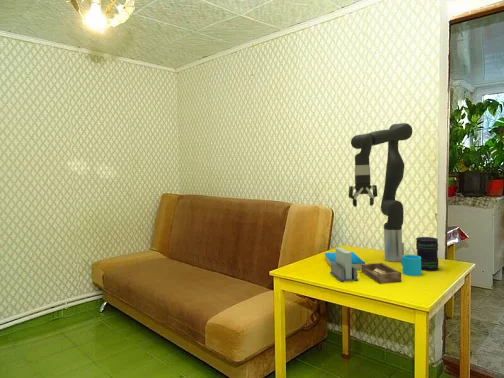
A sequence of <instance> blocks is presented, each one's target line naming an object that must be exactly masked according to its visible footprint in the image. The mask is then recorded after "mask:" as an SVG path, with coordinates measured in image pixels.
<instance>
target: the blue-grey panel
mask: <svg viewBox="0 0 504 378" xmlns="http://www.w3.org/2000/svg"><path fill="white" fill-rule="evenodd" d="M335 252H336V263H337V264H338V265H340V266H341V267H342V268H344V276H345V279H352V260H351V252H352V251H348V250H346V249H345V248H343V247H335Z"/></svg>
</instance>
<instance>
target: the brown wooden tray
mask: <svg viewBox="0 0 504 378" xmlns="http://www.w3.org/2000/svg"><path fill="white" fill-rule="evenodd" d="M361 265H362V270H361V273H362V274H364V275H365V276H367V277H368V278H369V279H372V280H373V281H374V282H376V283H378V284H389V283H391V284H392V283H402V272H400V271H398V270H397V269H395V268H393V267H390V266H389V265H387V264H385V263H383V262H378V263H376V262H375V263H374V262H373V263H365V264H361ZM376 268H377V269H380V270H382V271H385V272H386V273H379V274H375V273H373V272H372V271H374V270H375V269H376Z"/></svg>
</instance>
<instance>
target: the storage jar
mask: <svg viewBox="0 0 504 378" xmlns="http://www.w3.org/2000/svg"><path fill="white" fill-rule="evenodd" d="M438 240H439V239H438V238H437V237H430V236H419V237H416V238H415V241H416V243H415V247H416V248H415V249H416V255H417V256H420V257H421V271H425V272H435V271H439V257H438V252H439V242H438Z"/></svg>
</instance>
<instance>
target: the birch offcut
mask: <svg viewBox="0 0 504 378" xmlns="http://www.w3.org/2000/svg"><path fill="white" fill-rule="evenodd" d="M374 272H376V273H378V274H379V273H386V272H385V271H382V270H380V269H377V268H376V269H375V270H374Z"/></svg>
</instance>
